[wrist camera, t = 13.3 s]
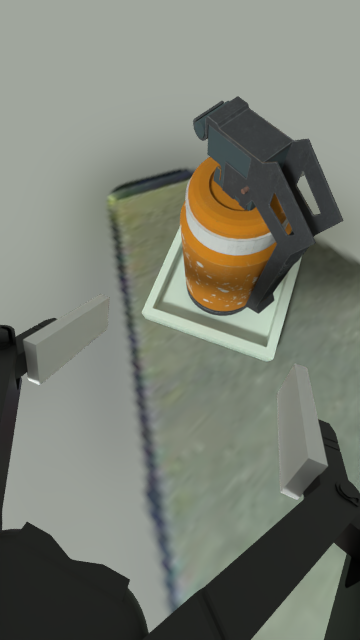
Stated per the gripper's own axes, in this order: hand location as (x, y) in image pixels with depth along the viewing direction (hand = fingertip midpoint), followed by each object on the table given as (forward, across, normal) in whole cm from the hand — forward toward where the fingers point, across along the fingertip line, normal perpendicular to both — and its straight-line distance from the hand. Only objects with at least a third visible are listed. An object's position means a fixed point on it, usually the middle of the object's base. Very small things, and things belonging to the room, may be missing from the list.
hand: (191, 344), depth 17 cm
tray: (+17, 0, -2) cm, 18 cm away
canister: (+17, 0, -2) cm, 17 cm away
